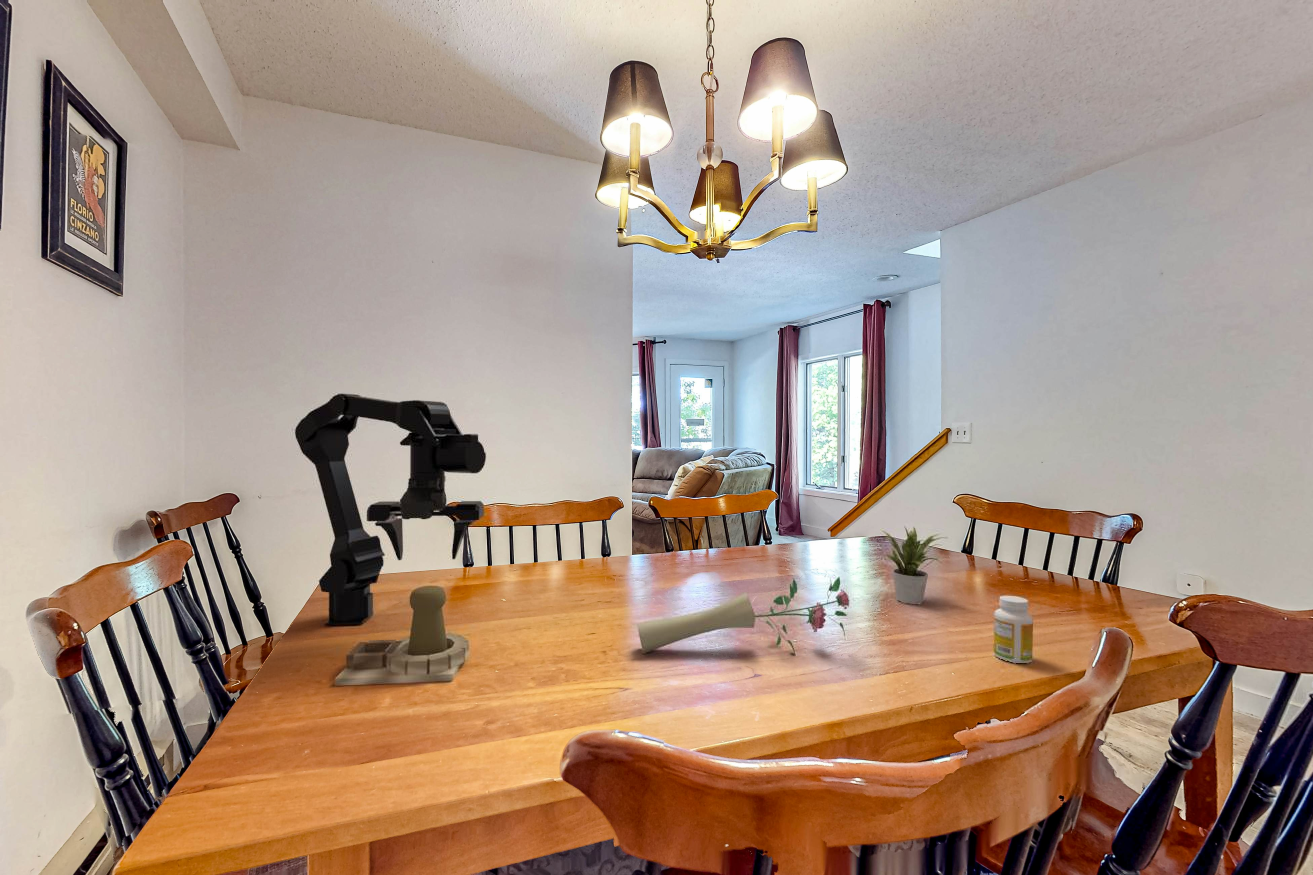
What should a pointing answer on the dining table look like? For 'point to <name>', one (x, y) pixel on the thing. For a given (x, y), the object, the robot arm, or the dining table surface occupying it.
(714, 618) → the flower vase
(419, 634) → the olive tapered knobbed peg
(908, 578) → the house plant
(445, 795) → the dining table surface
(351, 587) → the robot arm
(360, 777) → the dining table surface
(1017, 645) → the supplement bottle
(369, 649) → the holder
